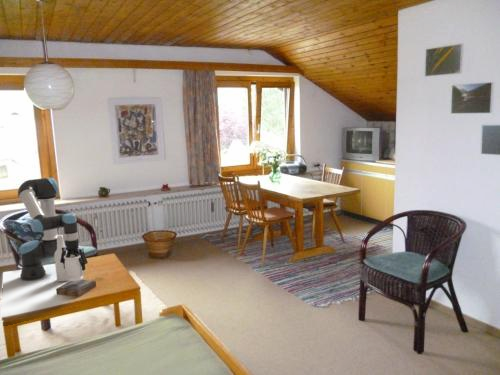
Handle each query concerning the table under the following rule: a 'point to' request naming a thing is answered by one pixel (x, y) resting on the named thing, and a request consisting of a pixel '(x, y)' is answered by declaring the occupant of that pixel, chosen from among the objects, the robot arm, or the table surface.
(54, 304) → the table surface
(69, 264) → the jar
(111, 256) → the table surface
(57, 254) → the alcohol
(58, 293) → the plinth
